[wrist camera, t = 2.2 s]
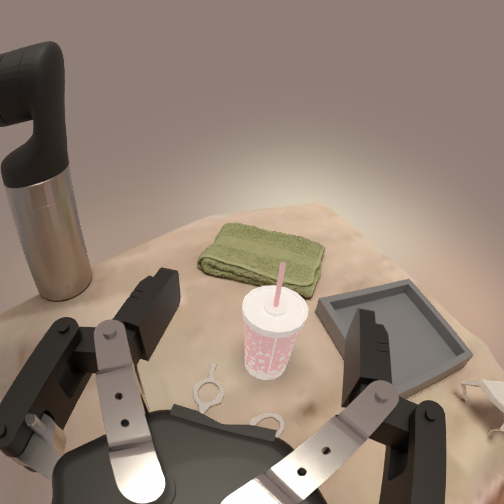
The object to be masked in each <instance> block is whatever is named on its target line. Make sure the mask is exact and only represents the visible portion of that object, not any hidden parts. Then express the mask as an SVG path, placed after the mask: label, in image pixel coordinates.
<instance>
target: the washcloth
mask: <svg viewBox="0 0 504 504" xmlns="http://www.w3.org/2000/svg"><path fill="white" fill-rule="evenodd" d="M215 238H216V239H215V242H214V243H213V245H210V246H209V247H208V248H206V250H205V251H204V252H203V253H202V254H201V255H200V257H199V258H198V261H197V265H198V267H199V268H200V269H201V270H203V271H204V272H206V273H209V274H210V275H214V276H220V277H223V278H226V279H230V280H237V281H238V282H242V283H246V284H252V285H258V286H270V285H276V286H277V280H278V274H279V267H280V262H285V263H286V266H285V272H284V277H283V283H282V287H286V288H288V289H290V290H293V291H295V292H297V293H298V294H299V295H300V296H304V297H305V298H307V297H308V298H311V296H312V294H313V291H314V288H315V285H316V282H317V281H318V278H319V276H320V273H321V259H322V256H323V253H324V251H325V247H323V246H322V245H321V244H320V243H317V242H313V241H311V240H309V239H305V238H304V237H300V236H295V235H290V234H285V233H284V234H283V233H281V232H279V233H278V232H276V231H268V230H264V229H260V228H257V227H255V226H249V225H243V224H240V223H227V224H225V225H224V226H223V227H222V229H221V230H220V232H219V234H218V235H217V236H216V237H215Z"/></svg>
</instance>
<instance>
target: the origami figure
mask: <svg viewBox="0 0 504 504" xmlns="http://www.w3.org/2000/svg"><path fill="white" fill-rule="evenodd" d="M461 385H462V389H463V394H464V396H462V398H463V399H464V400H465V401H468V398H467V392H466V387H465V385H470V386H476V387H480V388H481V389H482V390H483V392H484V393H485V394H486V396H487V397H488V398H489V400H490V401H491V402H492V403H493V404H494V405H495V406H496V407H497V408H499V409H500V410H501V411H502V412H503V413H504V381H487V380H485V379H483V378H481V379H480V380H478V381H462V380H461ZM494 431H502V432H504V423H503V425H502V426H501V428H499V429H490V431H489V433H488V436H490V437H491V436H492V434H493V432H494Z"/></svg>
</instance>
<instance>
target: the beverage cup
mask: <svg viewBox="0 0 504 504" xmlns="http://www.w3.org/2000/svg"><path fill="white" fill-rule="evenodd" d="M285 266H286V263H285V262H280V267H279V274H278V280H277V286H276V285H270V286H261V287H259V288H256V289H253V290H252V291H250V292H249V293H248V294H247V295H246V296H245V298H244V301H243V304H242V314H243V319H244V321H245V366H246V369H247V371H248V372H249V373H250V374H251V375H252V376H254V377H256V378H257V379H262V380H271V379H275V378H277V377H279V376H281V374H282V373H283V372H284V370H285V368H286V366H287V363H288V361H289V358H290V355H291V353H292V350H293V348H294V345H295V342H296V340H297V337H298V334H299V332H300V330H301V329H302V327H303V326H304V325H305V322H306V320H307V316H308V307H307V304H306V302H305V300H304V299H303V298H302V297H301V296H300V295H299V294H298V293H297V292H295V291H293V290H290V289H288V288H286V287H282V283H283V277H284V272H285Z"/></svg>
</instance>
